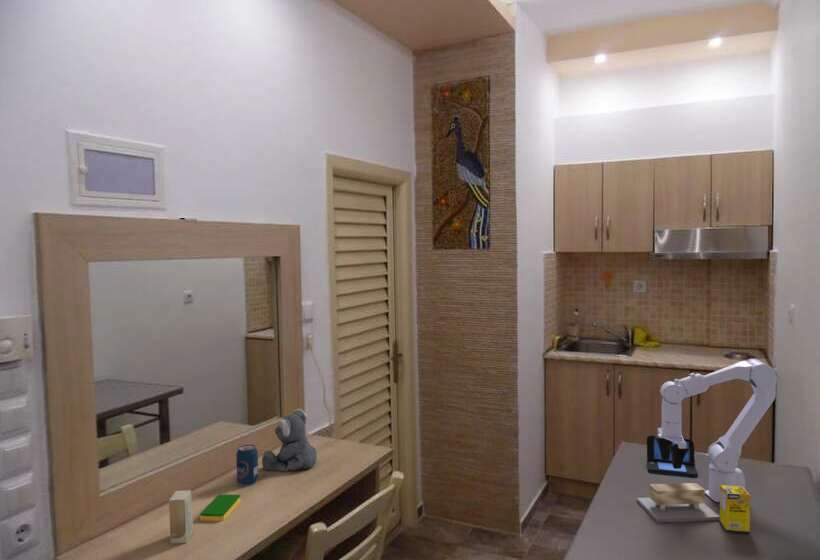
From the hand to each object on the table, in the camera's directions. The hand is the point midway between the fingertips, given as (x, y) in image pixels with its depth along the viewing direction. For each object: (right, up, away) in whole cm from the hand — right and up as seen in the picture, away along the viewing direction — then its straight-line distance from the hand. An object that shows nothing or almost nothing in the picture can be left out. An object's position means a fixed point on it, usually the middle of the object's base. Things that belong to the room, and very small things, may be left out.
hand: (671, 463), depth 185 cm
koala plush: (-124, -10, +30) cm, 128 cm away
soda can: (-137, -11, +14) cm, 138 cm away
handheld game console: (+9, -9, +21) cm, 25 cm away
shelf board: (-4, -7, -12) cm, 14 cm away
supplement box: (+7, -11, -23) cm, 27 cm away
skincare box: (-144, -13, -24) cm, 147 cm away
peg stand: (-3, -10, -12) cm, 16 cm away
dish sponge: (-139, -13, -7) cm, 139 cm away
